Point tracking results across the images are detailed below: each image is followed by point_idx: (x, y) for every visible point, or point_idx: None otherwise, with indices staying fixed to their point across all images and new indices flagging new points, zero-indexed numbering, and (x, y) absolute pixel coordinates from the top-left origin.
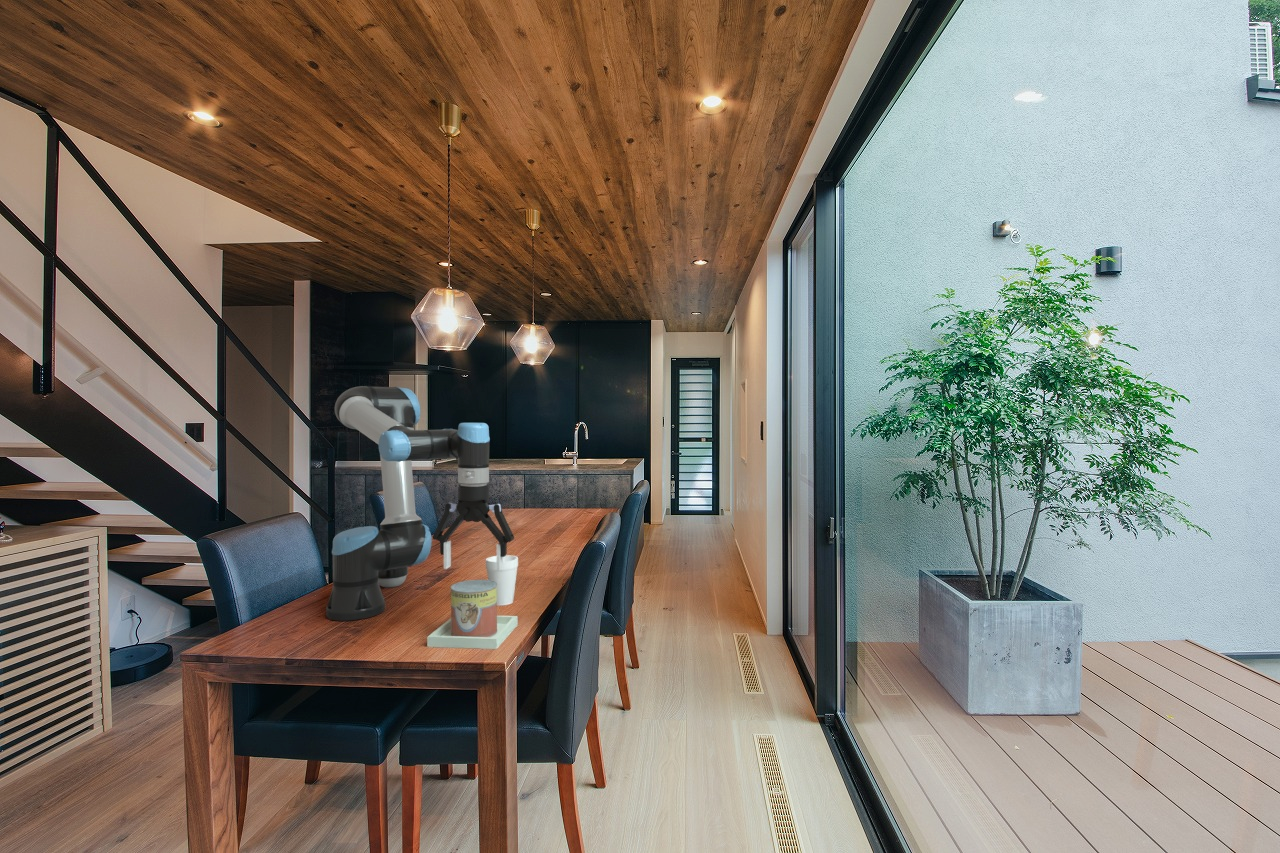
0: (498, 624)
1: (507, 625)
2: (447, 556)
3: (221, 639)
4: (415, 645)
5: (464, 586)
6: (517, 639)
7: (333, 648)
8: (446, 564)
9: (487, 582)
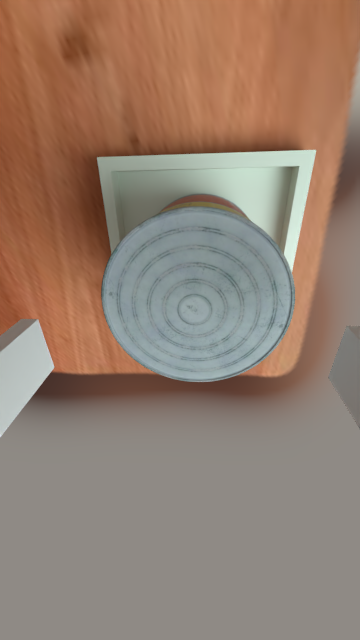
0: (247, 176)
1: (291, 250)
2: (10, 408)
3: None
4: (102, 317)
5: (159, 322)
6: (314, 271)
7: None
8: (41, 383)
9: (239, 255)
